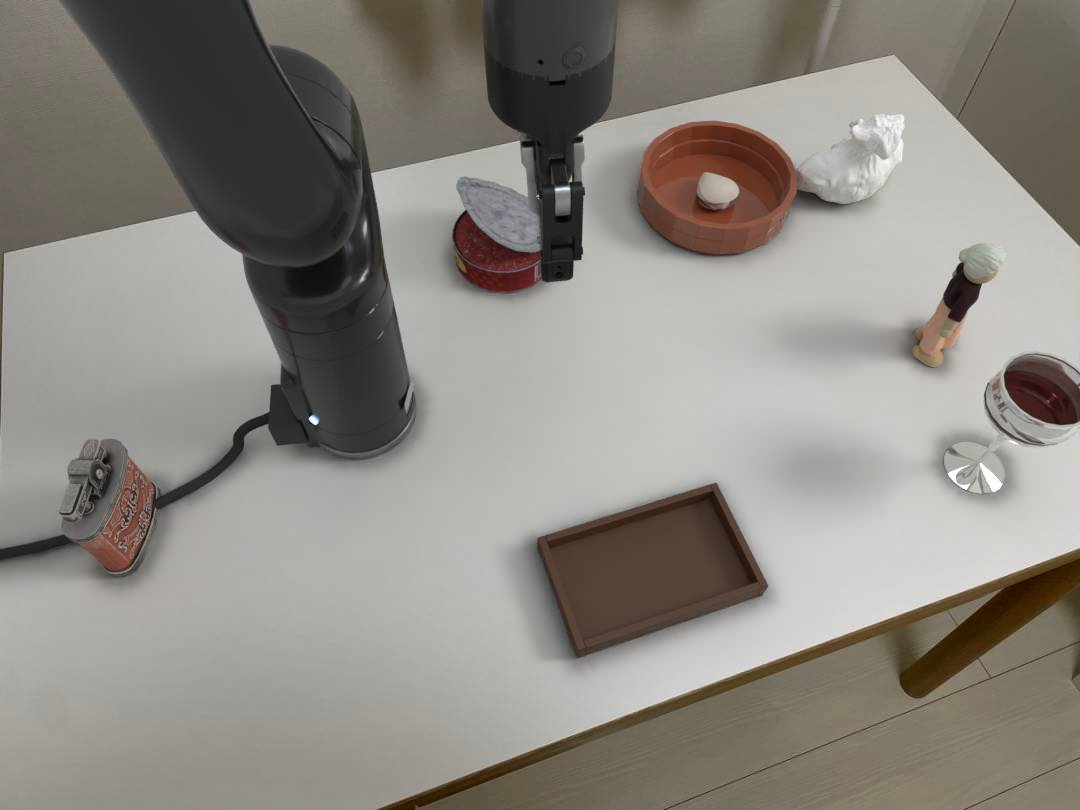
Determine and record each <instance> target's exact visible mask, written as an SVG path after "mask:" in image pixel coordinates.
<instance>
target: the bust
mask: <svg viewBox="0 0 1080 810" xmlns="http://www.w3.org/2000/svg"><path fill="white" fill-rule="evenodd" d="M848 126H849V128H850V130H849V134H850V135H851V136H847V137H844V138H842V139H841V140H840V141H838V142H837V143H836V144H833V145H832V146H831V147H830V148H829V149H828V150H820V151H817V152H815V153H813V154H811V155H810V156H808V157H807V158H806V159H805V160H804V161H803V162H802V163H801V164H800V165H799V166H798V167H797V168H795V170H796V173H797V191H798V190H799V191H802V192H805V193H806V192H807V193H813V194H815V195H816V196H817V197H819V198H820V199H821V200H823V201H825V202H829V203H832V202H833V203H836V204H839V205H846V204H847V205H848V204H852V203H856V202H859V201H862V200H865V199H868V198H870V197H871V196H872V195H873V194H875V193H876V192H877V191H879V190H880V189H881V188H882V187H883V186H884V184H885V182H886V181H887V180H888V178H889V177H890V174H891V172H892V171H893V170H894V169H895V167H896V166H898V165H899V164H901V162H902V161H903V160H904V159H903V152H904V145H905V143H904V140H903V139H902V135H903V132H904V129H905V126H906V124H905V116H904V114H901V113H896V114H891V115H889V114H885V113H882V112H880V113H878V112H877V113H876V114H874V115H872V116H871V117H869V119H868V120H867V121H865V119H862V118H859V119H858V118H857V119H852V120H851V121H850V122H849V124H848Z"/></svg>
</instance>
